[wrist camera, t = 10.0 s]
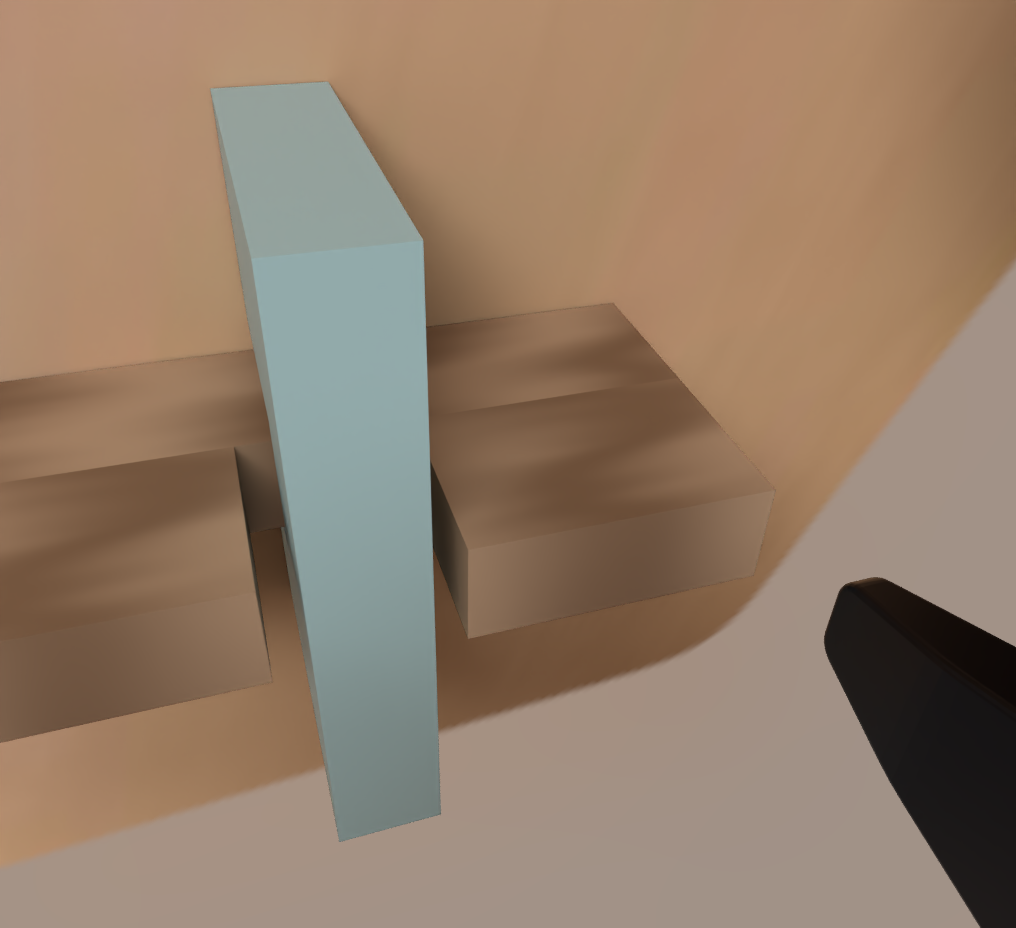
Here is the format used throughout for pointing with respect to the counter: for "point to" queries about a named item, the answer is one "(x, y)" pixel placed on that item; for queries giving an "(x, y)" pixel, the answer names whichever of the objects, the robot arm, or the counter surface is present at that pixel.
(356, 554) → the teal slotted plate
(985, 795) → the robot arm
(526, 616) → the walnut slotted plate
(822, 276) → the counter surface
